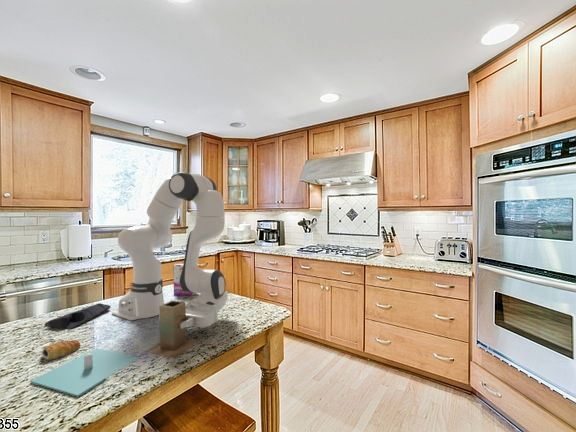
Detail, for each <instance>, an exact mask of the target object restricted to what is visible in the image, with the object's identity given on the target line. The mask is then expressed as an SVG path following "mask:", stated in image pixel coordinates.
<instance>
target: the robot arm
mask: <svg viewBox="0 0 576 432" xmlns="http://www.w3.org/2000/svg"><path fill="white" fill-rule="evenodd" d="M217 189H218V188H217V184H216V182H215V181H214V180H213V179H211V178H209V177H207V176H204V175H201V174H198V173H193V172H192V173H190V172H187V171H180V172H175V173H173V174H172V175H171V176H169V177H168V178H166V179H165V180H164V181H163V182H162V183H161V185H160V186H159V188H158V189H157V190H156V192H155V194H154V195H153V198H152V200H151V201H150V203H149V205H148V207H147V209H146V214H147V216H148V217H149V220H148V223H146V224H145V225H136V226H131V227H127V228H124V229H123V230H121V231H120V232H119V234H118V236H117V237H118V238H117V243H118V247H119V248H120V249H121V250H123V252H125V253H126V254H127V255H128V257H129V258H130V261H131V264H132V269H133V270H132V272H133V273H132V274H133V275H132V276H133V281H132V282H131V283H129V287H130V290H129V291H128V292H126V294H125V295H123V296H122V297H121V298H119V300H118V307H117V308H116V309H114V310H112V313H111V314H112V315H114V316H115V317H119V318H123V319H126V320H128V321H136V320H139V319H148V318H153V317H155V316H156V317H157V316H158V319H159V321H160V306H161V305H163V304H165V299H164V291H163V287H164V286H163V285H164V282H163V279H162V262H161V261H160V260H159V259H158V258H156V256H155V254H154V250H155V249H160V248H163V247H165V246H166V245H168V244H170V243H171V241H172V240H173V239H172V238H173V232H172V230H171V226H172V222H173V220H174V218H175V217H176V214H177V212H178V211H179V210H180V208H181V206H182V204H183V202H184V201H187V202H193V203H194V204H195V207H196V219H195V224H194V227H193V229H192V230H191V231H190V232H189V234H188V237H187V242H186V246H185V252H184V253H185V254H184V259H183V263H182V264H183V269H182V272H181V275H180V279H179V283H180V286H181V288H182V290H183V291H184V292H186V293H196V294H199V296H197V297H195V298H193V299H191V300H189V301H188V302H187V303H186V304H185V308H186V321H181V322H179V323H178V328H181V329H183V328H185V327H186V328H188V327H197V328H198V327H199V328H208V327H210V326H211V325H213V324H214V323H216V322H218V315H219V313H218V312H219V311H221V310H222V309H223V308H224V307H225V305H226V304H227V302H228V298H229V297H228V292H227V291H226V286H227V285H226V284H227V282H226V279H225V276H224V274H223V272H222V271H221V270H219V269H214V268H213V269H210V268H209V269H207V268H206V269H205V268H199V266H198V263H199V259H200V258H199V256H200V253H201V252H200V251H201V248H202V246H204V244H205V243H207V242H209V241H210V242H211V241H212V240H214V239H217V237H219V236H220V235H221V234H222V233H223V231H224V228H225V204H224V203H225V202H224V198H223V194H222V193H221V192H220V191H217Z"/></svg>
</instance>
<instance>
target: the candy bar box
mask: <svg viewBox="0 0 576 432" xmlns="http://www.w3.org/2000/svg"><path fill="white" fill-rule="evenodd" d="M183 264H184V263H175V264H173V266H172V268H173V295H174V296H187V297H188V296H189V297H193V296H195V295H197V293H186V292H184V291H183V290H182V288H181V286H180V283H179V279H180V275H181V272H182V269H183Z"/></svg>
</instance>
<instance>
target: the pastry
mask: <svg viewBox="0 0 576 432" xmlns="http://www.w3.org/2000/svg"><path fill="white" fill-rule="evenodd" d="M80 347H81V342H80V341H79V340H73V339H72V340H62V341H57V342H54V343H50V344H49V345H45V346H44V347H43V349H42V351H41V355H42V358H44V359H45V360H48V361H50V360H52V359H53V360H56V359H59V358H60V357H64V356H66V355H69V354H71V353H73V352H75V351H77V350H78V349H79V348H80Z"/></svg>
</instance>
